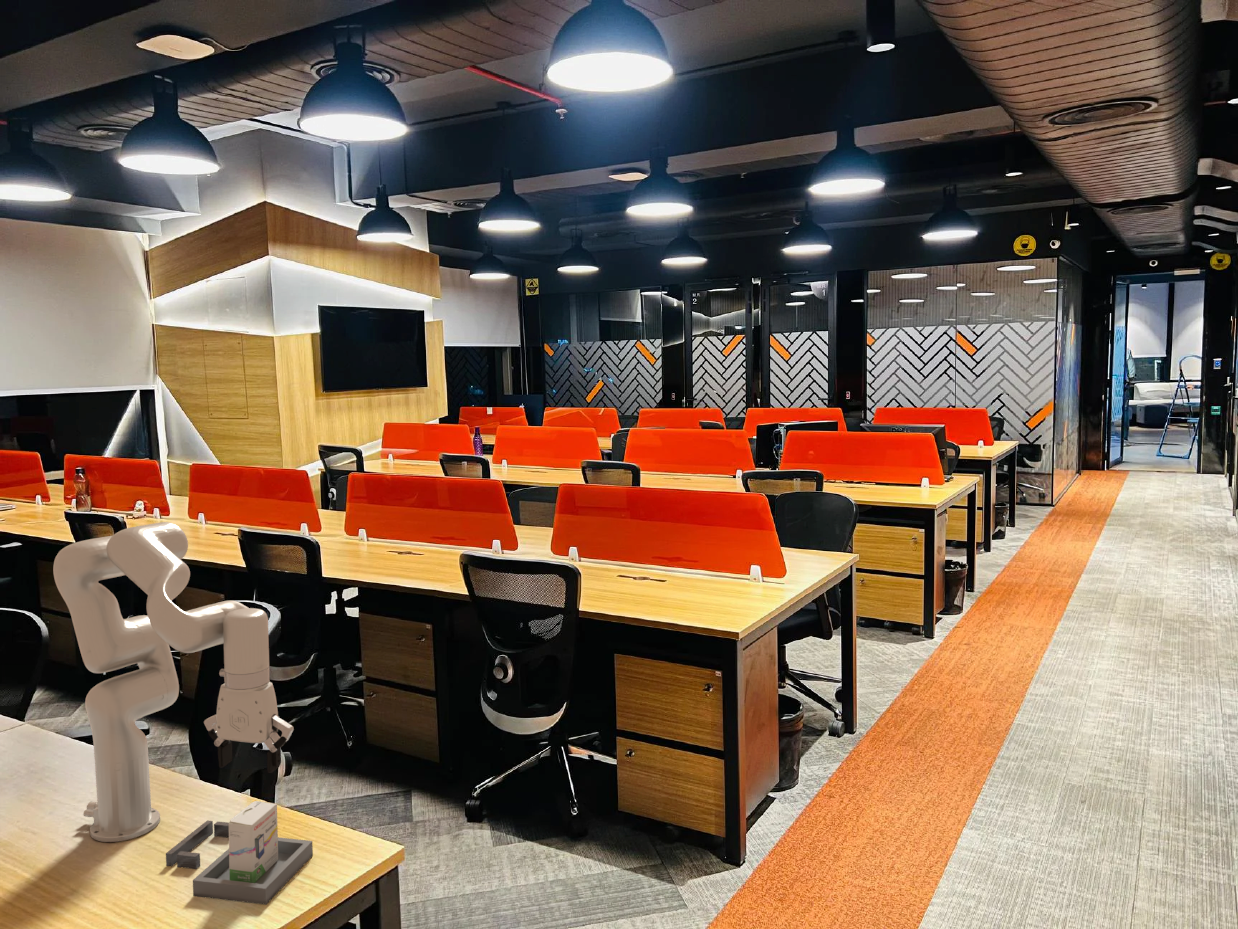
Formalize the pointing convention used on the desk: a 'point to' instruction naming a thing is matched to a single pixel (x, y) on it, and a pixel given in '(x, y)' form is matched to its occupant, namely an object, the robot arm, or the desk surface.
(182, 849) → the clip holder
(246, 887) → the tray
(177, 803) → the desk surface
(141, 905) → the desk surface
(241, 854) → the ink box
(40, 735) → the desk surface
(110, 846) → the desk surface
